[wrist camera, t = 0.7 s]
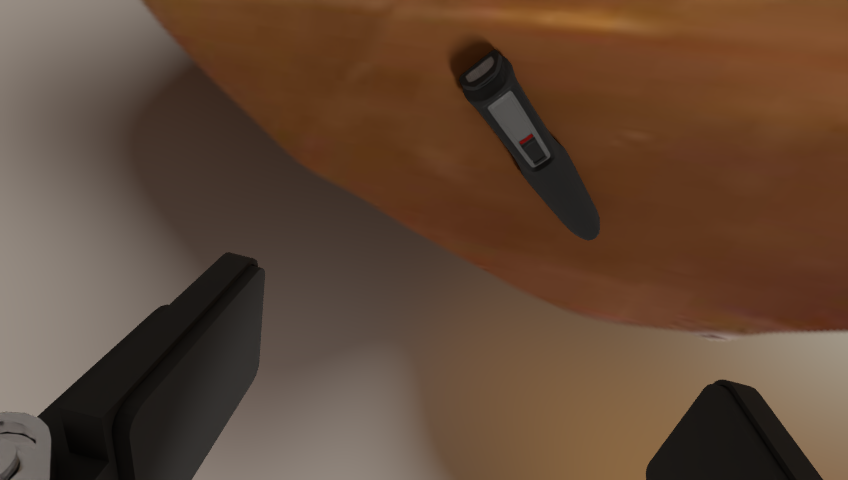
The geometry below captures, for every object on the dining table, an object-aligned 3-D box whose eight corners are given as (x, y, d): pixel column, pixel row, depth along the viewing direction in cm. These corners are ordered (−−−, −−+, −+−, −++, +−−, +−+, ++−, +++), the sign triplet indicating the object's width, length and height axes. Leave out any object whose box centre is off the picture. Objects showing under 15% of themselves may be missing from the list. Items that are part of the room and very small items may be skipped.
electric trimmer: (563, 234, 37) (571, 253, 34) (454, 79, 32) (453, 85, 29) (605, 211, 36) (617, 228, 33) (498, 44, 31) (501, 48, 28)
